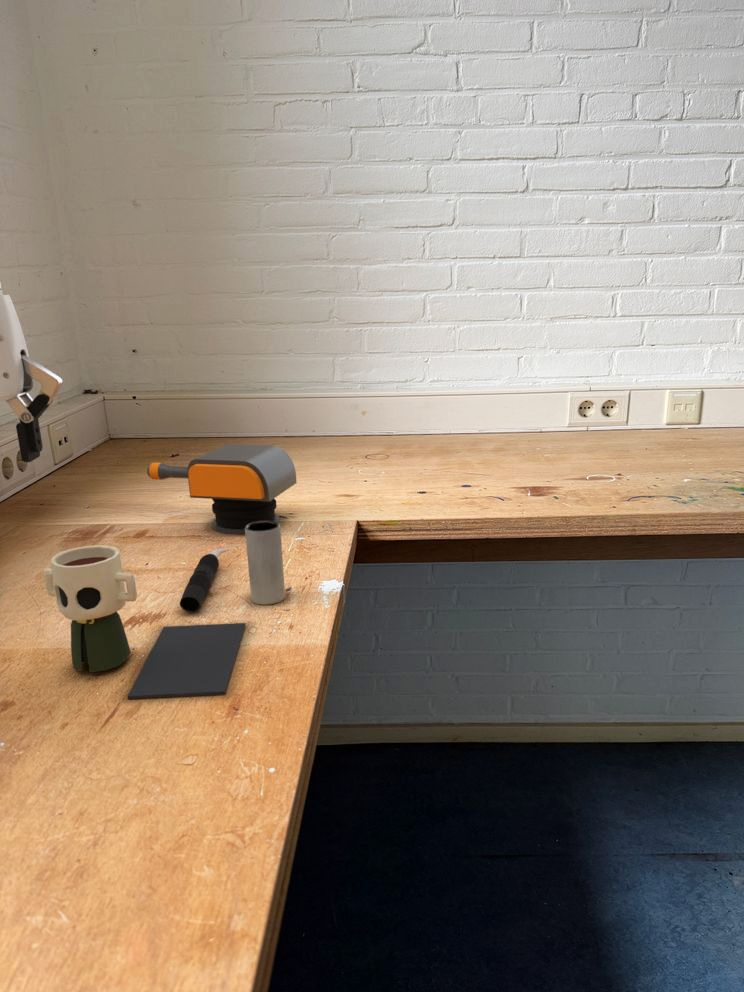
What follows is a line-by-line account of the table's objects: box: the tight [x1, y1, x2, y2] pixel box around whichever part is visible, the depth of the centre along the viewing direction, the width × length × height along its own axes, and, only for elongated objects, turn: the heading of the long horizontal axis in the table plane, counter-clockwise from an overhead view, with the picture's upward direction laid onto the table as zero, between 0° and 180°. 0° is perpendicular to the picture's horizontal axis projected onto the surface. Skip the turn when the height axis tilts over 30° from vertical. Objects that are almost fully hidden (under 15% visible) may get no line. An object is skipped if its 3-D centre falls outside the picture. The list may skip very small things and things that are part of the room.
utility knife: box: [179, 548, 233, 613], centre depth 112 cm, size 22×4×3 cm, turn 4°
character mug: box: [43, 544, 138, 673], centre depth 88 cm, size 11×7×13 cm, turn 78°
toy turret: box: [146, 443, 297, 535], centre depth 139 cm, size 15×25×13 cm, turn 76°
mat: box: [126, 622, 247, 700], centre depth 91 cm, size 10×17×1 cm, turn 4°
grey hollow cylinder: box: [244, 521, 286, 606], centre depth 106 cm, size 4×4×10 cm
